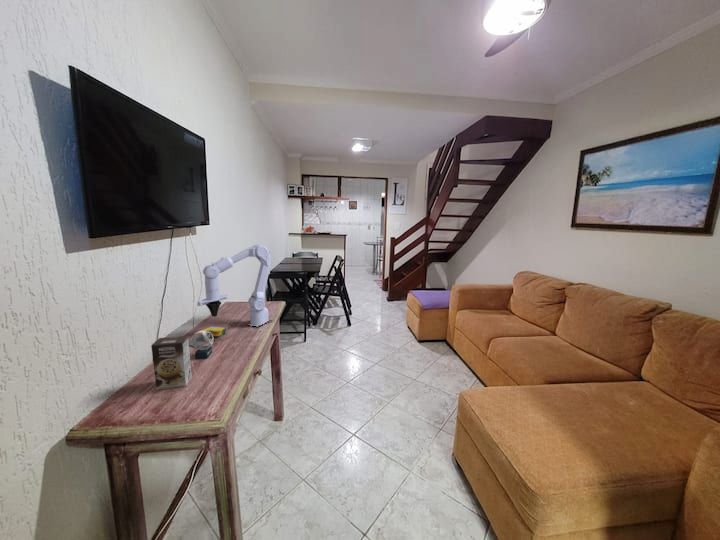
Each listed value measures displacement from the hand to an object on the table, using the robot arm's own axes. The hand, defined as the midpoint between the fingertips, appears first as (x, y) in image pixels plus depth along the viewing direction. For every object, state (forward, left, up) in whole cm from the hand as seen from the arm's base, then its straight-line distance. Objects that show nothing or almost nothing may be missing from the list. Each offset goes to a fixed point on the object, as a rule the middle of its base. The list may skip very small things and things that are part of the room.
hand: (214, 316), depth 131 cm
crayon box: (-1, +1, -8) cm, 8 cm away
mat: (+7, +1, -9) cm, 12 cm away
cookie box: (+34, +25, -10) cm, 43 cm away
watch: (+17, +16, -10) cm, 25 cm away
